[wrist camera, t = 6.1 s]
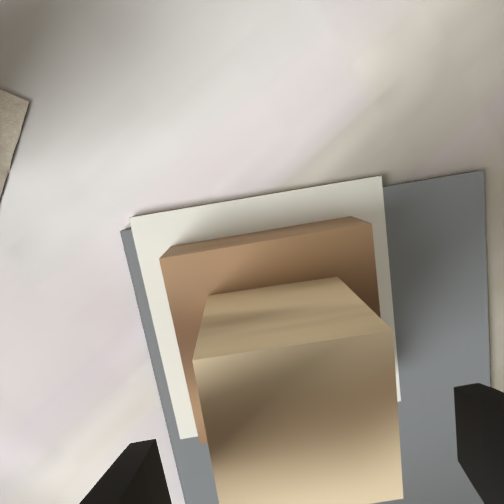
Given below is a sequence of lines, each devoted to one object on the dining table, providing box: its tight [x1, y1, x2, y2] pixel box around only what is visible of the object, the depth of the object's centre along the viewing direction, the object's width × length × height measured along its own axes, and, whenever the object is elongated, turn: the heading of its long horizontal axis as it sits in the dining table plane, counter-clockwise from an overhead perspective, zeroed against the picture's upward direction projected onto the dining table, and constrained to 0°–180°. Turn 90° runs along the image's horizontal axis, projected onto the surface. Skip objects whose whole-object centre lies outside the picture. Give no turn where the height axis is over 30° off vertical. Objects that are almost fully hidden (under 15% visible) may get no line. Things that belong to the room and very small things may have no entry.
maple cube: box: [192, 277, 403, 504], centre depth 12 cm, size 5×5×5 cm
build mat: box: [120, 171, 490, 504], centre depth 18 cm, size 18×16×1 cm
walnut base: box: [159, 216, 381, 444], centre depth 16 cm, size 8×8×2 cm
